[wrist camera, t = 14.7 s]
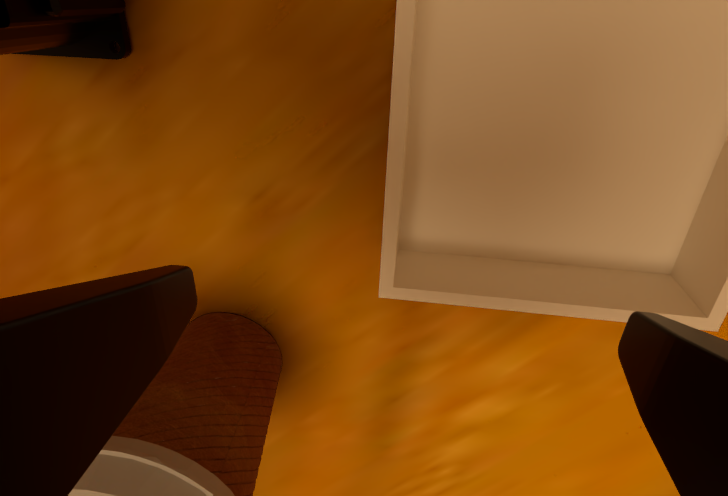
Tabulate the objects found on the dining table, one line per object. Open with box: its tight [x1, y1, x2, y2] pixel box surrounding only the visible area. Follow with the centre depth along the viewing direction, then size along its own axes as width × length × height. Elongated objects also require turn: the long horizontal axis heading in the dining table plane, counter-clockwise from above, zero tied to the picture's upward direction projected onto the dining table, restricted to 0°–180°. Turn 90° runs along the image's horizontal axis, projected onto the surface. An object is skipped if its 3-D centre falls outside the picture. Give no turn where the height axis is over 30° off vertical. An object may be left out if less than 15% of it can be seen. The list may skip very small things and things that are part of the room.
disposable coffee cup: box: [68, 312, 282, 496], centre depth 23 cm, size 10×10×12 cm
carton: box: [379, 0, 728, 332], centre depth 16 cm, size 14×22×4 cm, turn 178°
